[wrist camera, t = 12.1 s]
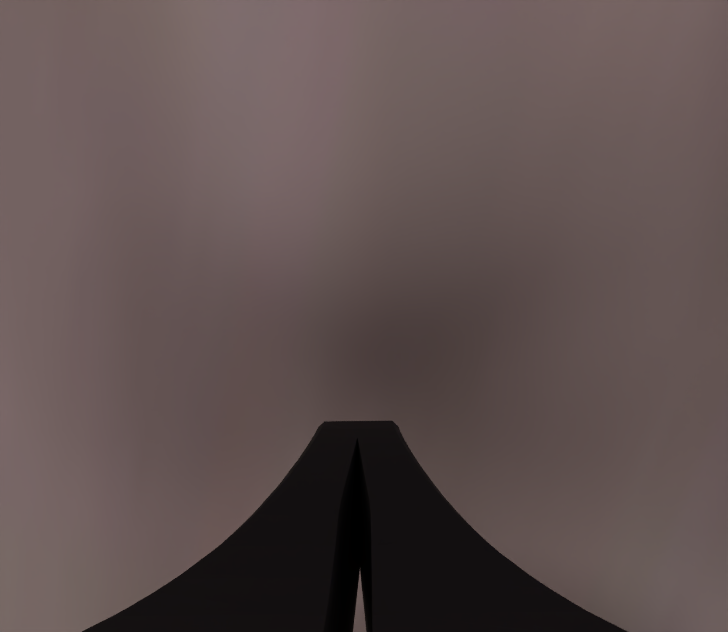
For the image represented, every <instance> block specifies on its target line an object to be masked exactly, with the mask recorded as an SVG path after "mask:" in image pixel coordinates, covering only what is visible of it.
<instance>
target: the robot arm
mask: <svg viewBox="0 0 728 632" xmlns="http://www.w3.org/2000/svg"><path fill="white" fill-rule="evenodd" d="M359 571H361V582H362V591H363V601H364V611H365V621H366V631H367V632H627V631H625V630H623V629H621V628H619V627H617V626H615V625H613V624H611V623H609V622H607V621H605V620H604V619H602V618H600V617H598V616H596V615H594V614H592V613H590V612H588V611H586V610H584V609H582V608H581V607H579V606H577V605H576V604H574V603H572V602H571V601H569V600H567V599H566V598H564V597H562V596H561V595H559V594H558V593H556V592H554V591H553V590H551V589H549V588H548V587H546V586H545V585H543V584H542V583H540V582H539V581H537V580H536V579H534V578H533V577H531V576H530V575H529V574H527V573H526V572H525V571H523V570H522V569H521V568H519V567H518V566H517V565H515V564H514V563H513V562H511V561H510V560H509V559H507V558H506V557H505V556H503V555H502V554H501V553H499V552H498V551H497V550H496V549H495V548H493V547H492V546H491V545H490V544H489V543H488V542H487V541H486V540H484V539H483V538H482V537H481V536H480V535H479V534H478V533H477V532H476V531H475V530H474V529H473V528H472V527H471V526H470V525H469V524H468V523H467V522H466V521H465V520H464V519H463V518H462V517H461V516H460V515H459V514H458V512H457V511H456V510H455V509H454V508H453V507H452V506H451V504H450V503H449V502H448V501H447V500H446V499H445V498H444V496H443V495H442V494H441V493H440V491H439V490H438V489H437V488H436V486H435V485H434V484H433V482H432V481H431V480H430V478H429V477H428V476H427V474H426V473H425V471H424V470H423V469H422V467H421V466H420V464H419V463H418V461H417V460H416V458H415V457H414V455H413V454H412V452H411V450H410V449H409V447H408V445H407V444H406V442H405V440H404V438H403V436H402V434H401V432H400V430H399V427H398V426H397V425H396V424H395V423H394V422H393V421H331V422H324V423H323V424H321V425H320V426H319V427H318V429H317V431H316V433H315V435H314V436H313V438H312V440H311V441H310V443H309V444H308V446H307V448H306V449H305V450H304V452H303V453H302V455H301V456H300V458H299V459H298V461H297V462H296V463H295V465H294V466H293V467H292V469H291V470H290V471H289V473H288V474H287V475H286V476H285V478H284V479H283V480H282V482H281V483H280V484H279V485H278V487H277V488H276V489H275V490H274V491H273V492H272V493H271V495H270V496H269V497H268V498H267V499H266V500H265V501H264V502H263V504H262V505H261V506H260V507H259V508H258V509H257V510H256V511H255V512H254V514H253V515H252V516H251V517H250V518H249V519H248V520H247V521H246V522H245V523H244V524H243V525H242V526H240V527H239V528H238V529H237V530H236V531H235V532H234V533H233V534H232V535H231V536H230V537H229V538H227V539H226V540H225V541H224V542H223V543H222V544H221V545H220V546H218V547H217V548H216V549H215V550H213V551H212V552H211V553H209V554H208V555H207V556H205V557H204V558H203V559H201V560H200V561H199V562H197V563H196V564H195V565H193V566H192V567H191V568H189V569H188V570H187V571H185V572H184V573H183V574H181V575H180V576H178V577H177V578H175V579H174V580H172V581H171V582H169V583H168V584H166V585H165V586H163V587H161V588H160V589H158V590H157V591H155V592H154V593H152V594H150V595H149V596H147V597H145V598H144V599H142V600H140V601H139V602H137V603H135V604H134V605H132V606H130V607H128V608H127V609H125V610H123V611H121V612H119V613H118V614H116V615H114V616H112V617H110V618H108V619H106V620H104V621H102V622H100V623H98V624H96V625H94V626H92V627H90V628H88V629H86V630H84V631H82V632H353V625H354V616H355V607H356V598H357V589H358V580H359Z"/></svg>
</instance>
